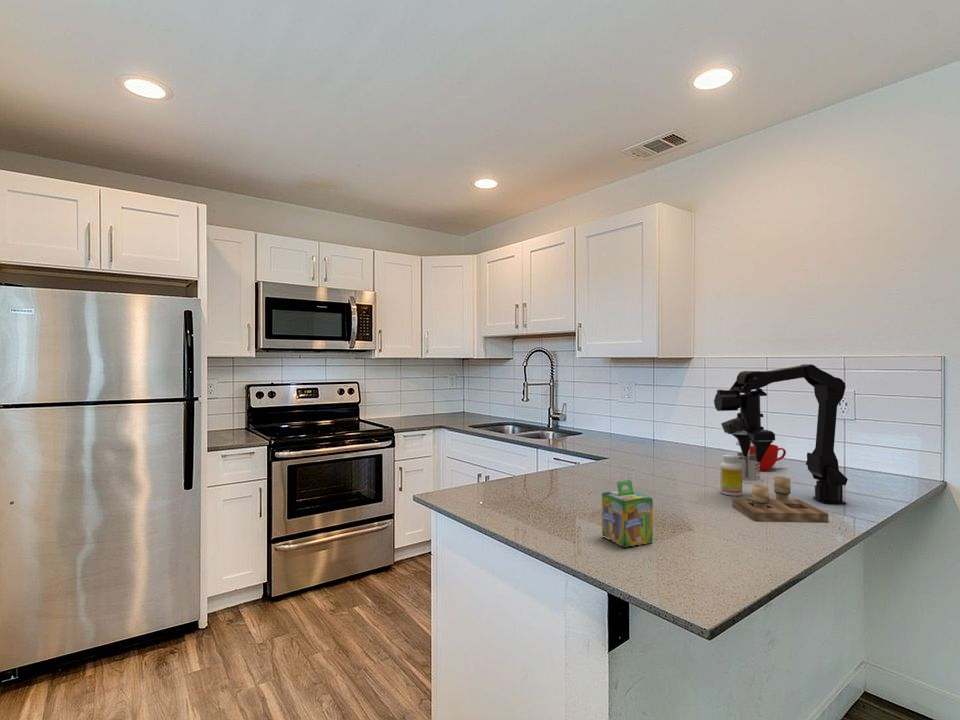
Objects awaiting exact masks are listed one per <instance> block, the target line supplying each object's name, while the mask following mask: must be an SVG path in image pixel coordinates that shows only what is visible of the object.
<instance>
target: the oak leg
mask: <svg viewBox="0 0 960 720" xmlns="http://www.w3.org/2000/svg"><path fill="white" fill-rule="evenodd" d="M773 478H774V479H773V480H774V481H773V482H774V483H773V484H774V485H773V487H774V488H773V492H774V493H775V498H776V499H790V497H789V496H790V495H791V494H792V492H791V489H792V488H791V487H792V485H791V483H792V482H791V478H790V477H786V476H774V477H773Z"/></svg>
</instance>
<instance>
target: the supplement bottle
mask: <svg viewBox="0 0 960 720" xmlns="http://www.w3.org/2000/svg"><path fill="white" fill-rule="evenodd" d="M722 457H723V461H722V462H721V463H720V465H719V467H720V468H719V471H720V472H719V480H720V481H719V482H720V483H719V484H720V486H719V487H720V489H719V490H720V491H719V492H720V493H721V494H723V495H725V496H730V497H731V496H732V497H734V496H735V497H739V496H742V494H743V482H742V466H741V465H740V464H739V463H738V460H739V457H740V456H738V455H737V454H723V456H722Z"/></svg>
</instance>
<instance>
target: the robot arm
mask: <svg viewBox="0 0 960 720" xmlns="http://www.w3.org/2000/svg"><path fill="white" fill-rule="evenodd" d="M796 379H804V380H805V381H806V382H807V384H809V385H810V386H812V387H813V390H814V391H813V392H814V396H815V399H816V400H817V403H818V409H817V410H818V411H817V420H816V421H817V422H816V435H815V447H814V449H813V451H812V452H807V453H806V462H805V465H806V466H807V470H808V472H810V474H811V475H812V478H813V479H814V480H816V481H815V482H816V485H815V486H814V496H813V497H812V498H813V499H815V500H816V501H818V502H821V503H823V504H826V505H828V504H829V505H832V504H833V505H846V504H847V502H846V501H844V500H843V499H844V496H843V494H844V492H843V491H844V490H843V488H844V487H843V486H846V485H847V483H848V480H849V479H848V478H847V476H846V475H844V474H843V472H841V471H840V470H839V469H840V466H839V459H838V457H837V455H836V453H835V450H834V449H835V438H836V428H837V427H836V426H837V415H838V414H837V413H838V406H839V404H840V402H841V401H842V400H843V398H844V395H845V393H846V392H845V391H846V388H847V387H846V383H845V381H844V380H843V379H842V378H840V377H838V376H837V377H835V376H834V375H832V374H831V373H828V372H826V371H824V370H822V369H821V368H819V367H817V366H815V365H814V364H806V363H805V364H800V365H796V366H790V367H784V368H777V369H773V370H766V371H765V370H763V371H761V370H743V371H740V372H738V375H737V376H736V380H735V382H734V383H733V384H732V386H731V387H730V389H717V390H716V393H715V396H714V399H713V405H714V408H715V410H716V411H717V412H727V411H728V412H729V411H730V412H731V411H738V410H739V411H740V412H737V413H736V417H735V418H731V419H729V420H726V421H723V422H721V423H720V424H721V427H722V429H723V432H724V433H725V434H728V435H731V436H733V437H734V438H735V439H736V440H737V442H739V445H740V446H739V445H738V446H739V447H740V451H741V453H742V454H743V456H747V455H748V452H749V448H750V445H751V443H752V444H753V445H754V450H755V456H756V461H757V462H761V460H762V458H763V456H764V455H765V453H766V451H767V449H768V447H769V446H770V444H773V443H774V441H776V434H775V432H773V431H772V430H769V429H765V428H764V427H765V426H762V421H761V420H762V418H764V413H762V412H761V397H767V396H768V393H766V392H765V391H764V390H763V388H764V387H767V386H768V385H771V384H773V383H778V382H784V381H790V380H791V381H792V380H796Z"/></svg>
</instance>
